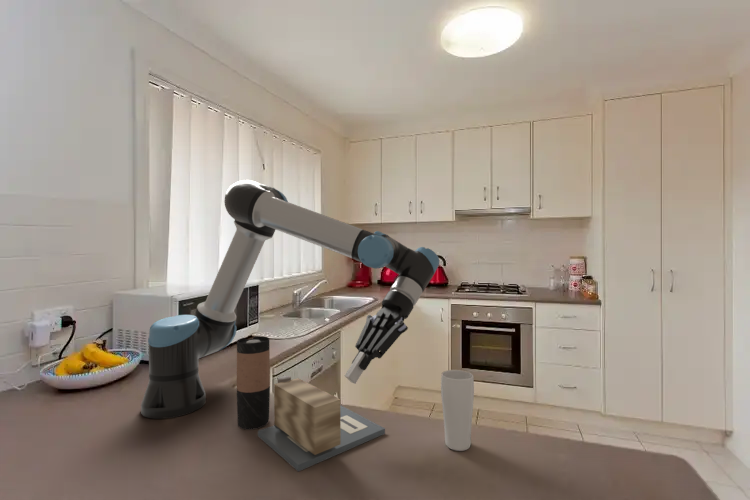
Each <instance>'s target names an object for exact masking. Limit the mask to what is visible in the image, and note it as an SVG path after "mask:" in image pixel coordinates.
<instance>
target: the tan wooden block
mask: <svg viewBox="0 0 750 500" xmlns="http://www.w3.org/2000/svg"><path fill="white" fill-rule="evenodd" d="M273 390H274V391H273V394H274V395H273V399H274V400H273V401H274V403H273V408H274V409H273V411H274V415H273V417H274V419H273V420H274V422H273V423H274V424H273V425H276V426H277V427H279V428H280V429H281V430H283V431H284V432H285V433H286V434H288V435H289V436H290V437H292V438H293V439H294V440H296V441H297V442H298V443H300V444H301V445H302V446H304V447H305V448H306V449H308V450H309V451H310V452H311V453H313V454H314V455H316V454H319V453H321V452H323V451H326V450H328V449H331V448H333V447H335V446H338V445H340V444H341V429H340V405H341V399H340V398H338V397H337V396H334V395H333V394H330V393H329V392H326V391H325V390H323V389H320V388H319V387H317V386H316V385H313V384H311V383H309V382H306V381H305V380H303V379H301V378H299V377H297V378H293V379H292V377H291V376H289V375H283V376H278V378H277V383H274V384H273Z"/></svg>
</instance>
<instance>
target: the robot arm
mask: <svg viewBox="0 0 750 500" xmlns="http://www.w3.org/2000/svg"><path fill="white" fill-rule="evenodd" d="M223 202H224V206H225V207H224V208H225V210H226V211H227V214H228V215H229V216H230V217H231V218H232V219H234V220H233V223H234V226H235V228H236V230H235V233H234V234H233V237H232V239H231V242H230V244H229V246H228V249H227V251H226V253H225V255H224V257H223V260H222V262H221V265H220V267H219V269H218V271H217V274H216V276H215V278H214V280H213V283H212V285H211V288H210V290H209V293H208V295H207V297H206V300H205V301H203V302H200V303H198V304H197V306H196V309H195V311H194V313H193V314H179V315H178V314H177V315H173V316H168V317H167V316H166V317H164V318H162V319H158V320H157V321H155V322H153V323H152V324H151V326H150V327H149V330H148V331H149V332H148V333H149V334H148V338H147V343H148V383H147V387H146V389H145V392H144V395H143V398H142V400H141V403H140V413H141V415H142V417H144V418H147V419H153V420H155V419H158V420H159V419H161V420H162V419H171V418H176V417H181V416H184V415H187V414H190V413H193V412H195V411H197V410H200V409H201V408H202V407H203V406H205V404H206V402H207V401H206V400H207V399H206V398H207V397H206V396H207V395H206V390H205V388H204V386H203V382H202V380H201V376H200V374H199V362H200V361H199V359H201V358H204V357H206V356H208V355H211V354H214V353H217V352H220V351H222V350H223V349H225V348H226V347H227V346H229V345H230V344H231V343H232V342H233V340H235V339H234V338H236V335H237V325H236V323H237V322H236V320H237V317H238V316H237V315H236V312H235V310H236V307H237V306H238V303H239V300H240V298H241V297H242V294H243V292H244V289H245V287H246V285H247V282H248V280H249V278H250V276H251V274H252V271H253V268H254V267H255V264H256V261H257V260H258V257H259V255H260V253H261V251H262V248H263V246H264V243H265V242H266V241H268V240H269V239H272V238H273V236H274V235H275V232H276V231H278V232H282V233H285V234H287V235H289V236H292V237H294V238H297V239H300V240H303V241H305V242H308V243H311V244H314V245H316V246H318V247H321V248H324V249H327V250H329V251H332V252H334V253H336V254H340V255H342V256H345V257H348V258H350V259H353V260H355V261H357V262H359V263H362V264H363V265H364V266H366V267H368V268H372V269H381V268H384V267H385V268H386V269H388V270H390V271H393V272H394V273H395V274H398V277H397V278H396V279H395V281H394V283H392V285H391V287H390V288H389V291H388V292H387V293H386V295H385V296H384V298H383V299H382V301H381V308H380V309H379V310H378V311H377V312H376V314H374V315H373V316H372V315H371V314H368V315H367V316H366V321H365V324H364V325H363V328H362V331H361V333H360V335H359V337H358V339H357V341H356V343H355V346H354V347H355V348H356V349H357V350H358V352H357V353H356V355H355V357H354V359H353V360H352V362H351V365H350V366H349V368H348V369H347V371H346V373H344V377H345V378H346V379H347V380H348V381H349V382H350V383H352V384H357V382H358V381H359V379H360V377H361V376H362V374H363V373H364V371H366V370H367V368H368V367H369V365H370V363H372V360H375V358H376V359H382V357H383V356H384V355H385V354H386V352H387V351H388V350H389V349H390V348H391V347H392V346H393V344H395V342H396V341H397V340H398V338H399V337H401V335H402V334H404V333H405V332H406V331H407V330H408V329H409V327H408V326H407V325H406V323H405V322H404V321H405V320H407V319H408V317H409V316H410V314H411V313H412V311H413V309H414V306H416V304H417V303H418V301H419V299H420V297H421V296H422V295H423V293H424V291H425V290H426V288H427V286H428V285H429V283H430V282H431V280H432V279H433V277H434V275H435V274H436V271H437V269H438V267H440V266H439V265H440V258H439V256H438V254H437V253H436V252H435V251H433V250H432V249H431V248H429V247H427V248H426V247H425V246H419V247H418V248H417V249H415V250H414V249H411V248H409V247H407V246H405V245H404V244H402V243H401V242H399V241H397V240H396V239H395V238H392V237H391V236H389V235H388V234H387V233H383V232H382V231H379V230H376V231H374V232H371V231H369V230H365V229H363V228H360V227H357V226H355V225H353V224H349V223H347V222H344V221H340V220H338V219H335V218H333V217H329V216H327V215H325V214H322V213H319V212H316V211H313V210H311V209H308V208H306V207H302V206H300V205H298V204H297V205H296V204H295V203H292V202H289V201H288V198H287V197H286V196H285V194H283V192H281V191H280V190H278V189H276V188H275V187H273V186H269V185H267V184H262V183H259V182H257V181H254V180H250V179H246V180H245V179H243V180H242V179H241V180H239V181H236V182H235V183H233V184H231V185H230V186H229V187H228V189H227V191H226V193H225V195H224V201H223Z"/></svg>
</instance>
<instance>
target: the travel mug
mask: <svg viewBox="0 0 750 500" xmlns="http://www.w3.org/2000/svg"><path fill="white" fill-rule="evenodd" d="M270 360H271V359H270V338H269V337H267V336H263V335H261V336H260V335H256V336H254V337H252V338H249V339H247V338H245V337H242V338H239V339H237V340H236V405H237V407H236V409H237V410H236V411H237V413H236V414H237V426H238V427H239V428H240V429H241V430H258V429H260V428H263V427H265V426H266V425H268V423H269V421H270V403H271V401H270V400H271V397H270V396H271V366H270V364H271V363H270Z"/></svg>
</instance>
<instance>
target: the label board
mask: <svg viewBox="0 0 750 500" xmlns="http://www.w3.org/2000/svg"><path fill="white" fill-rule="evenodd" d="M340 429H341V444H340V445H338V446H335V447H333V448H331V449H328V450H326V451H323V452H321V453H319V454H316V455H314V454H313V453H311V452H310V451H309V450H308V449H306V448H305V447H304V446H302V445H301V444H300V443H298V442H297V441H296V440H294V439H293V438H292V437H290V436H289V435H288V434H286V433H285V432H284V431H283V430H281V429H280V428H279V427H277V426H276V425H275V424H273V425H271V426H269V427H268V426H267V427H265V428H261V429H259V430H258V429H257V437H258V438H259V439H261V440H262V442H264V443H265V444H266V445H268V446H269V447H270V448H271V449H272V450H273V451H274V452H275V453H277V455H279V457H281V458H282V459H283V460H285V462H287V463H288V464H289V465H290V466H291V467H292V468H294V469H295V471H297V472H300V471H303V470H305V469H308V468H310V467H312V466H314V465H316V464H319V463H321V462H323V461H326V460H328V459H331V458H332V457H335V456H337V455H339V454H342V453H344V452H346V451H348V450H351V449H354V448H355V447H358V446H360V445H362V444H364V443H366V442H368V441H372V440H374V439H376V438H378V437H381V436H383V435H385V434H386V428H385V427H383V426H382V425H380V424H377V423H375V422H373V421H372V420H370V419H368V418H366V417H364V416H362V415H360V414H358V413H356V412H355V411H352V410H351V409H349V408H348V407H345V406H342V405H341V404H340Z"/></svg>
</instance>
